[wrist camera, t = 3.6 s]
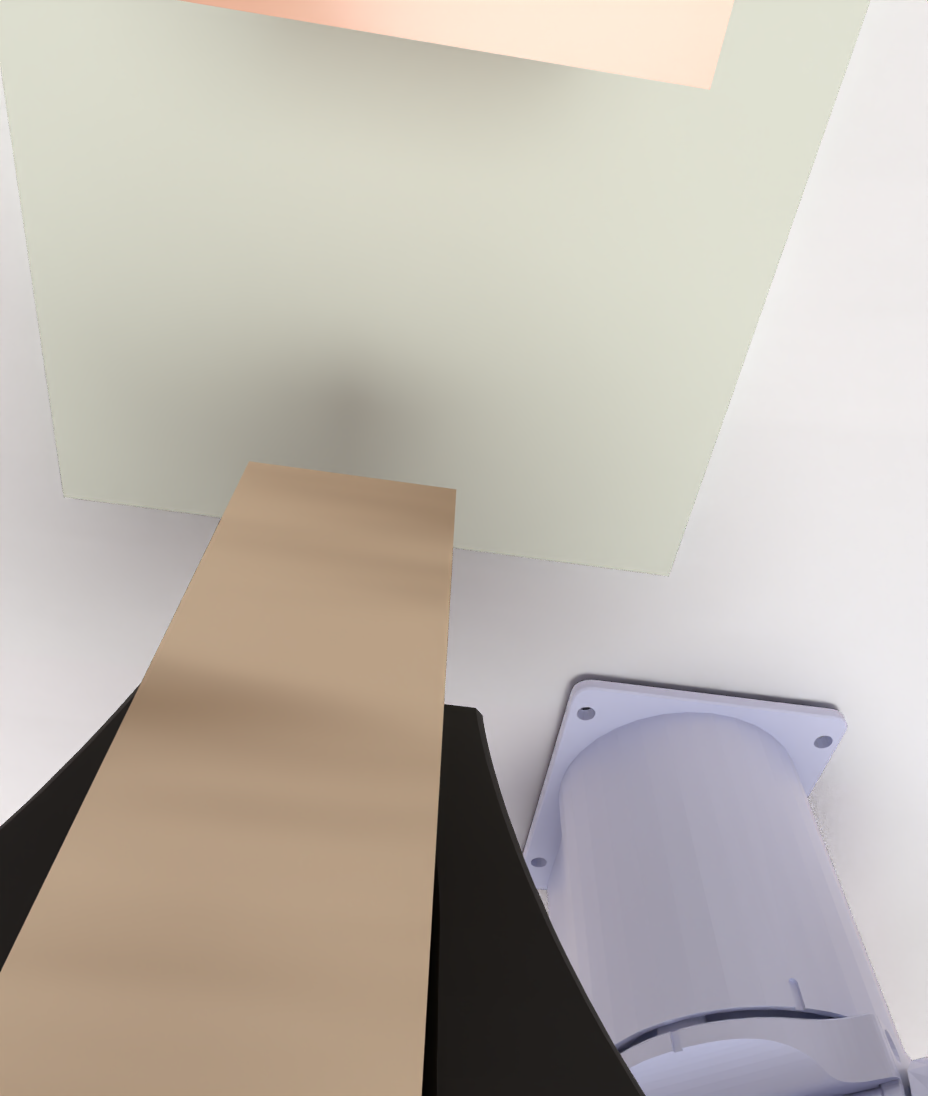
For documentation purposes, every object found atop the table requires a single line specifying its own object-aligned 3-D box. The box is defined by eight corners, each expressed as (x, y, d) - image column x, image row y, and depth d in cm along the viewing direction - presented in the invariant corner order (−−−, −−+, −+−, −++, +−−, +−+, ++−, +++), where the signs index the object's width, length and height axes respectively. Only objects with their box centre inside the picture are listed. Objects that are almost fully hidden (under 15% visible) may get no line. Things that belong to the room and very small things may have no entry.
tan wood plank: (418, 728, 15) (351, 1463, 8) (248, 709, 15) (11, 1443, 7) (456, 489, 12) (410, 1277, 5) (249, 461, 12) (-129, 1238, 5)
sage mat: (665, 564, 22) (669, 576, 21) (72, 486, 21) (63, 497, 20) (1212, -1026, 9) (1246, -1074, 9) (-190, -1397, 8) (-225, -1465, 8)
